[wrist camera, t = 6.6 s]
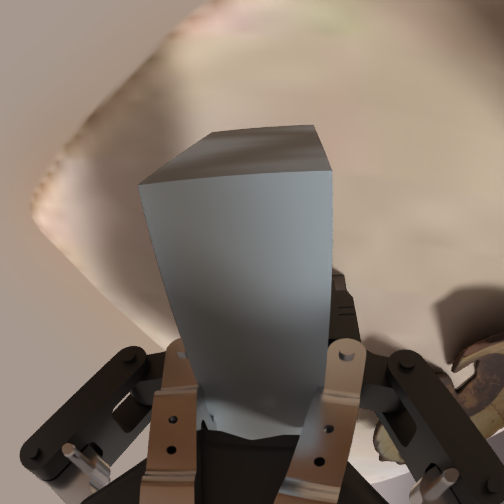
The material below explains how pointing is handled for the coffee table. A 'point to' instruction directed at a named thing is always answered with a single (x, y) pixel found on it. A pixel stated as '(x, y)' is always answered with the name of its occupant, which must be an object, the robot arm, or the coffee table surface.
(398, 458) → the cracked wood slice
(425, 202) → the coffee table surface
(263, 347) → the gray rectangular block
